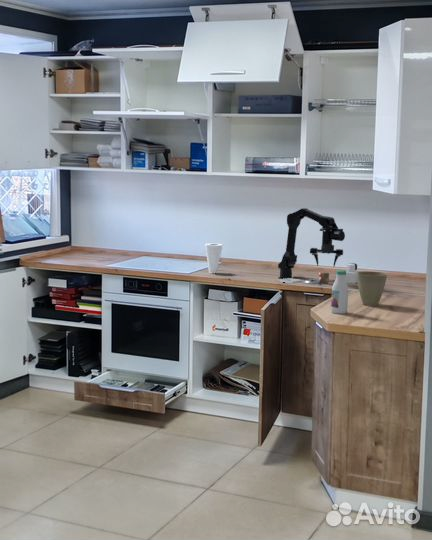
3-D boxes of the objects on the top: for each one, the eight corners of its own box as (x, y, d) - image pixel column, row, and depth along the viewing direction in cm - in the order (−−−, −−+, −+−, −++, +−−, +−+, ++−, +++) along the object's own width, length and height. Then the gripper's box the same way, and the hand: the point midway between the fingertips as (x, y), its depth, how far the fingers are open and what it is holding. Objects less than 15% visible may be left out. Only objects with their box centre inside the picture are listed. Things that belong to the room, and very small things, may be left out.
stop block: (321, 283, 446) (321, 273, 445) (321, 282, 450) (322, 272, 449) (328, 284, 445) (328, 273, 444) (328, 283, 449) (329, 273, 448)
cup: (201, 272, 482) (202, 243, 479) (217, 271, 486) (218, 243, 484) (208, 275, 472) (209, 245, 470) (224, 274, 477) (225, 245, 474)
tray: (279, 282, 452) (279, 279, 452) (289, 281, 459) (289, 278, 459) (292, 284, 446) (292, 281, 446) (301, 283, 453) (301, 280, 453)
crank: (311, 284, 443) (311, 275, 442) (300, 281, 450) (300, 273, 449) (327, 282, 450) (327, 273, 450) (315, 280, 457) (316, 271, 457)
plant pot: (364, 300, 401) (365, 270, 399) (390, 304, 392) (392, 273, 390) (349, 304, 390) (351, 273, 387) (376, 308, 380) (378, 276, 378)
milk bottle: (345, 311, 372) (347, 269, 369) (348, 314, 364) (351, 272, 361) (329, 310, 372) (331, 269, 369) (332, 313, 364) (334, 271, 361)
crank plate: (296, 284, 448) (296, 277, 447) (310, 281, 458) (310, 275, 458) (319, 287, 438) (319, 280, 437) (333, 285, 448) (333, 278, 447)
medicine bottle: (347, 282, 462) (348, 262, 460) (358, 283, 458) (360, 263, 456) (343, 283, 455) (344, 263, 454) (354, 285, 452) (355, 264, 450)
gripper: (309, 239, 438) (308, 267, 440) (343, 241, 434) (341, 269, 436) (311, 238, 448) (309, 264, 451) (343, 239, 445) (342, 266, 447)
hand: (325, 266), depth 446 cm, fingers open, 9 cm apart
